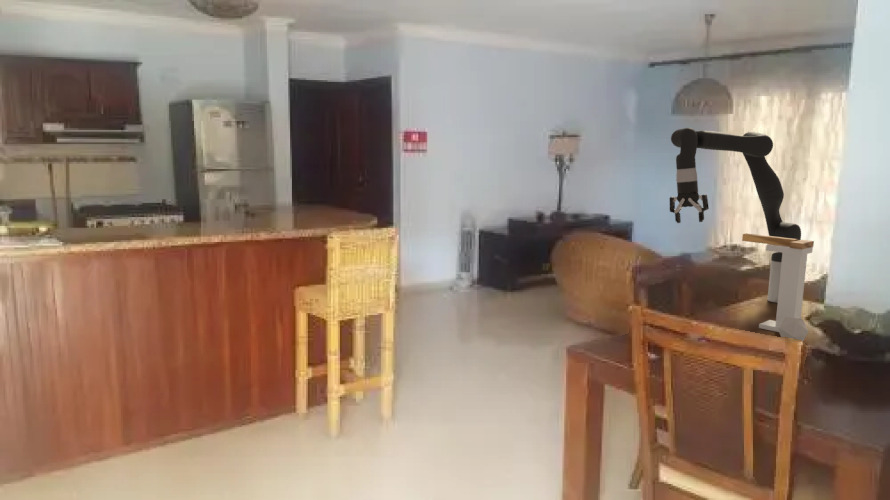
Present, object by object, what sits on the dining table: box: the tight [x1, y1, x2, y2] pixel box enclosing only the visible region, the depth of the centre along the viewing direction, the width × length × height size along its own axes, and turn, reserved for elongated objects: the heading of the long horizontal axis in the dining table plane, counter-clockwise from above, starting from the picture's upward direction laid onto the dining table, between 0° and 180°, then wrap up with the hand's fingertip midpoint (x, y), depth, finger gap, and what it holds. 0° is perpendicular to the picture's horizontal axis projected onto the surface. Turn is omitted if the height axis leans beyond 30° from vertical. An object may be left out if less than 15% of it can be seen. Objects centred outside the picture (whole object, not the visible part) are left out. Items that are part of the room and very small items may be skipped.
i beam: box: [758, 244, 814, 333], centre depth 240 cm, size 9×12×30 cm
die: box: [778, 317, 809, 342], centre depth 225 cm, size 8×9×10 cm
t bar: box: [741, 233, 815, 249], centre depth 241 cm, size 10×22×2 cm, turn 42°
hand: (689, 222), depth 264 cm, fingers open, 8 cm apart
